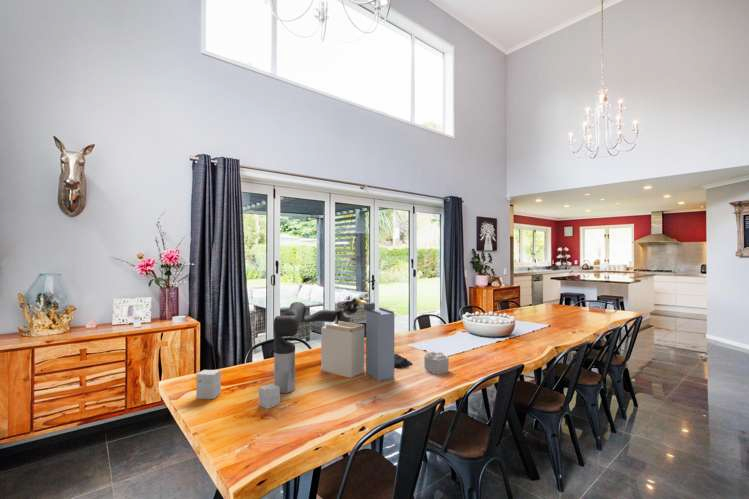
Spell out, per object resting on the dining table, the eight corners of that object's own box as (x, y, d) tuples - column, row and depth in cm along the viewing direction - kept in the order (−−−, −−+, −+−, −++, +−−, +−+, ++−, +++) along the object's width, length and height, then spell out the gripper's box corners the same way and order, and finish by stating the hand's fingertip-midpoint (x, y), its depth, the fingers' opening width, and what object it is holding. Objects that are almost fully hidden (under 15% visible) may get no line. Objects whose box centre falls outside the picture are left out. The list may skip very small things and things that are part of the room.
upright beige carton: (364, 371, 183) (364, 324, 183) (351, 378, 174) (351, 328, 174) (334, 364, 194) (335, 320, 194) (321, 370, 185) (321, 323, 185)
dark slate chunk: (393, 355, 213) (393, 348, 213) (414, 366, 194) (414, 357, 194) (371, 359, 205) (371, 351, 205) (391, 370, 186) (391, 361, 186)
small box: (221, 394, 154) (221, 370, 154) (213, 399, 148) (214, 374, 148) (203, 393, 154) (203, 369, 154) (195, 398, 149) (196, 373, 149)
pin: (374, 309, 179) (374, 303, 179) (366, 310, 177) (366, 304, 177) (359, 303, 199) (358, 297, 198) (351, 303, 197) (351, 298, 196)
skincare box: (271, 400, 147) (271, 382, 147) (280, 404, 144) (280, 386, 144) (258, 405, 143) (258, 387, 143) (267, 409, 139) (267, 390, 139)
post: (394, 378, 174) (394, 311, 174) (377, 381, 170) (378, 312, 170) (381, 369, 186) (381, 307, 187) (365, 372, 182) (366, 308, 183)
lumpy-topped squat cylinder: (437, 375, 179) (437, 358, 179) (419, 368, 189) (419, 352, 189) (451, 371, 185) (451, 354, 185) (433, 364, 195) (433, 349, 195)
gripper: (337, 304, 205) (345, 294, 191) (359, 301, 211) (369, 291, 197) (339, 317, 202) (347, 307, 188) (362, 314, 208) (371, 304, 194)
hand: (358, 299), depth 193 cm, fingers closed on pin, 3 cm apart
